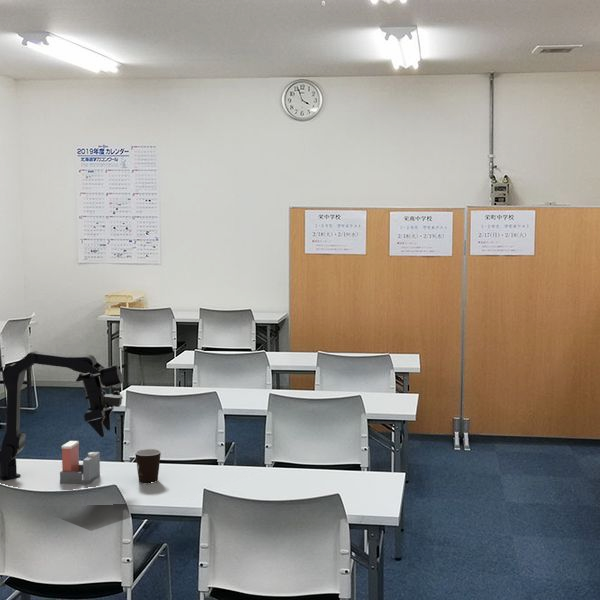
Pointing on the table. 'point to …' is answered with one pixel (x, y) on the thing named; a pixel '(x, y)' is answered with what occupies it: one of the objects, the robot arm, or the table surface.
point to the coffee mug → (148, 465)
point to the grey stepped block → (83, 471)
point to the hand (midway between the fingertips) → (105, 433)
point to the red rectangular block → (70, 456)
